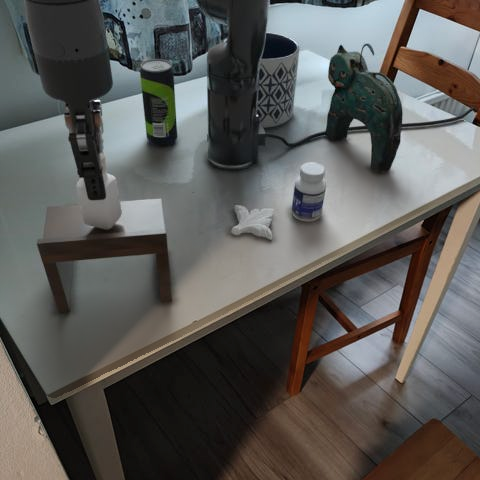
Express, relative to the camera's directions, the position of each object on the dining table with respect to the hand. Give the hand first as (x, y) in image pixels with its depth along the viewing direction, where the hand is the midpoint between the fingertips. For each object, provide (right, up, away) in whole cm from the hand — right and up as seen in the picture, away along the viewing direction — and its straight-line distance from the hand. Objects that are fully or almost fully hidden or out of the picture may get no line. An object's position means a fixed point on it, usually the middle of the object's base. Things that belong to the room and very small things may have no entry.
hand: (97, 185), depth 66 cm
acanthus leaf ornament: (+20, -1, +23) cm, 30 cm away
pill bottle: (+30, +1, +25) cm, 39 cm away
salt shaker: (0, -4, +4) cm, 6 cm away
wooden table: (-1, -11, +12) cm, 16 cm away
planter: (+22, +29, +51) cm, 63 cm away
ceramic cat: (+42, +17, +41) cm, 61 cm away
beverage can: (+2, +20, +42) cm, 46 cm away
